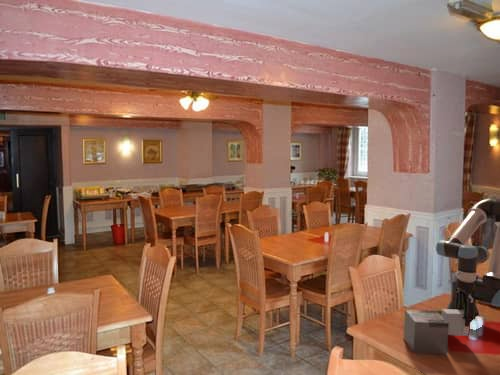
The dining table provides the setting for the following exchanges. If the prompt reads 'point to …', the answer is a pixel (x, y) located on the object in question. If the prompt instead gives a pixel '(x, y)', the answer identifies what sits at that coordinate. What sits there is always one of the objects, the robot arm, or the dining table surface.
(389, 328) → the dining table surface
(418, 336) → the box
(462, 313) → the upright grey box
